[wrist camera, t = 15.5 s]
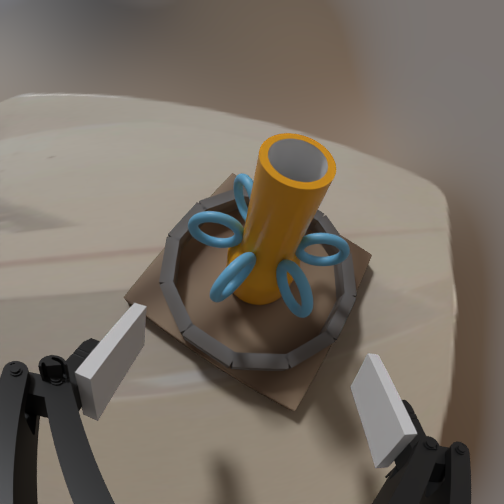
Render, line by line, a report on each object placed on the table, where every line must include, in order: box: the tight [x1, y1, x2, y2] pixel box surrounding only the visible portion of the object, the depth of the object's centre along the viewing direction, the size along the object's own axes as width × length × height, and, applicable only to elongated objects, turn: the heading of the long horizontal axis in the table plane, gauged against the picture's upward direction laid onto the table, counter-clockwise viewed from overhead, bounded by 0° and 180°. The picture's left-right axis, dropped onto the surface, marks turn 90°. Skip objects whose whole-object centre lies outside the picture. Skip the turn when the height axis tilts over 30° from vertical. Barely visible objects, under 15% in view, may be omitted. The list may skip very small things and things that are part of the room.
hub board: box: [124, 173, 372, 411], centre depth 27 cm, size 18×18×4 cm
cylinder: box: [188, 133, 350, 318], centre depth 21 cm, size 12×10×15 cm
